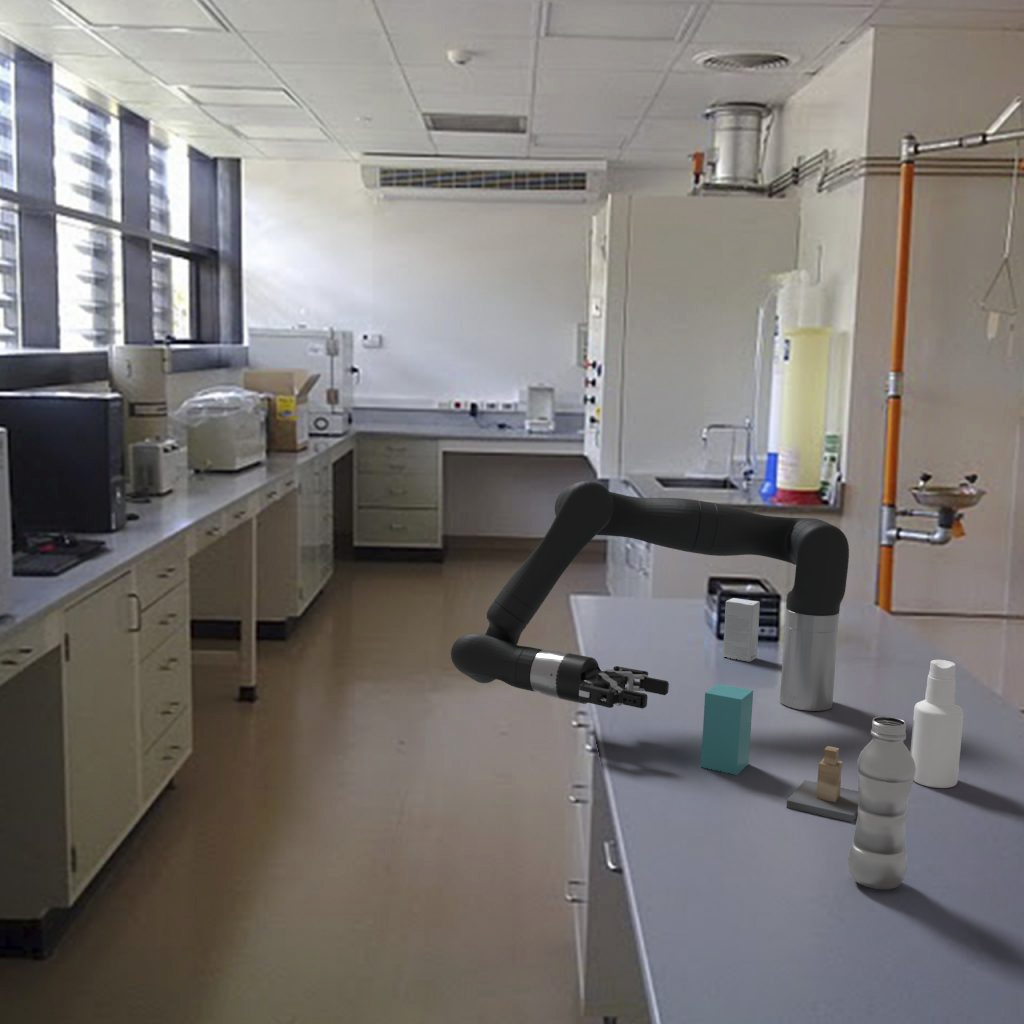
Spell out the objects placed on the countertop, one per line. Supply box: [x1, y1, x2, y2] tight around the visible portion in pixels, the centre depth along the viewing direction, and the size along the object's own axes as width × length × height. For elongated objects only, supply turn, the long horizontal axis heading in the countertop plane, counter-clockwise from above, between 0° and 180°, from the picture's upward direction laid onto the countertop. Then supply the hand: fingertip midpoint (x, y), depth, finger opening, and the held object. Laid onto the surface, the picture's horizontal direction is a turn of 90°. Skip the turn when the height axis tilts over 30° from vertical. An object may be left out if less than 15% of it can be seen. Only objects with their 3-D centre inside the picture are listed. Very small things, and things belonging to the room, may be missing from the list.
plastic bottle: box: [847, 716, 916, 890], centre depth 131 cm, size 6×7×20 cm
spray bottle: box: [909, 659, 964, 789], centre depth 165 cm, size 7×7×18 cm
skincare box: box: [722, 597, 761, 663], centre depth 230 cm, size 6×4×12 cm
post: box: [786, 745, 859, 823], centre depth 156 cm, size 9×9×8 cm
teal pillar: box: [700, 683, 754, 776], centre depth 169 cm, size 6×6×12 cm
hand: (657, 694), depth 174 cm, fingers open, 8 cm apart
